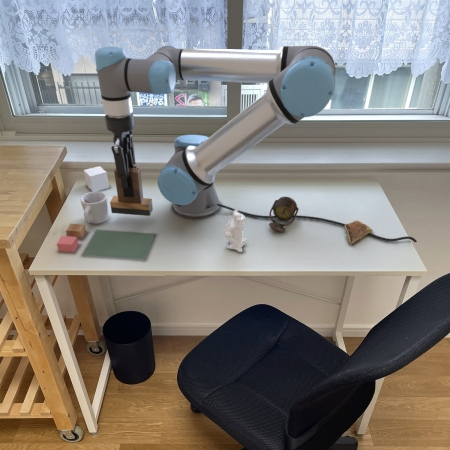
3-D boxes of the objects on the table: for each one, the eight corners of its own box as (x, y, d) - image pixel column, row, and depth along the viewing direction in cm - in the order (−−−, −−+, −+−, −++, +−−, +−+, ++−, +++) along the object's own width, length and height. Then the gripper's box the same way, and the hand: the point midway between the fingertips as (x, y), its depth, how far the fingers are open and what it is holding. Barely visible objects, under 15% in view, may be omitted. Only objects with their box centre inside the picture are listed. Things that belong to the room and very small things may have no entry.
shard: (350, 246, 129) (351, 241, 128) (330, 235, 134) (331, 230, 133) (372, 233, 135) (374, 228, 133) (352, 223, 139) (353, 218, 138)
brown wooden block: (152, 209, 138) (149, 167, 129) (149, 216, 135) (145, 173, 126) (115, 206, 139) (109, 165, 130) (111, 213, 136) (104, 171, 127)
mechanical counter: (310, 205, 136) (285, 188, 140) (286, 217, 129) (261, 199, 132) (302, 224, 141) (278, 207, 145) (278, 236, 134) (254, 218, 137)
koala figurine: (248, 254, 126) (250, 217, 118) (225, 255, 126) (225, 218, 118) (245, 238, 132) (247, 202, 124) (223, 238, 132) (223, 203, 124)
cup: (101, 232, 134) (96, 209, 129) (77, 229, 135) (71, 206, 130) (114, 214, 142) (110, 192, 137) (91, 212, 143) (86, 189, 138)
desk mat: (154, 234, 133) (154, 233, 133) (144, 260, 124) (144, 258, 123) (97, 231, 135) (97, 230, 134) (82, 256, 125) (82, 254, 125)
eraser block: (79, 245, 129) (76, 236, 127) (74, 253, 126) (71, 244, 124) (64, 244, 129) (61, 235, 127) (59, 252, 126) (56, 243, 124)
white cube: (109, 188, 156) (106, 172, 152) (93, 192, 154) (90, 176, 150) (102, 181, 160) (99, 165, 156) (86, 185, 157) (83, 170, 153)
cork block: (86, 232, 134) (84, 224, 132) (82, 240, 131) (80, 231, 129) (72, 231, 134) (70, 223, 132) (67, 239, 131) (65, 230, 129)
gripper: (113, 103, 124) (125, 180, 139) (95, 123, 112) (110, 206, 127) (139, 104, 123) (148, 182, 139) (124, 125, 111) (136, 207, 127)
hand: (130, 193), depth 133 cm, fingers closed on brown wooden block, 3 cm apart
